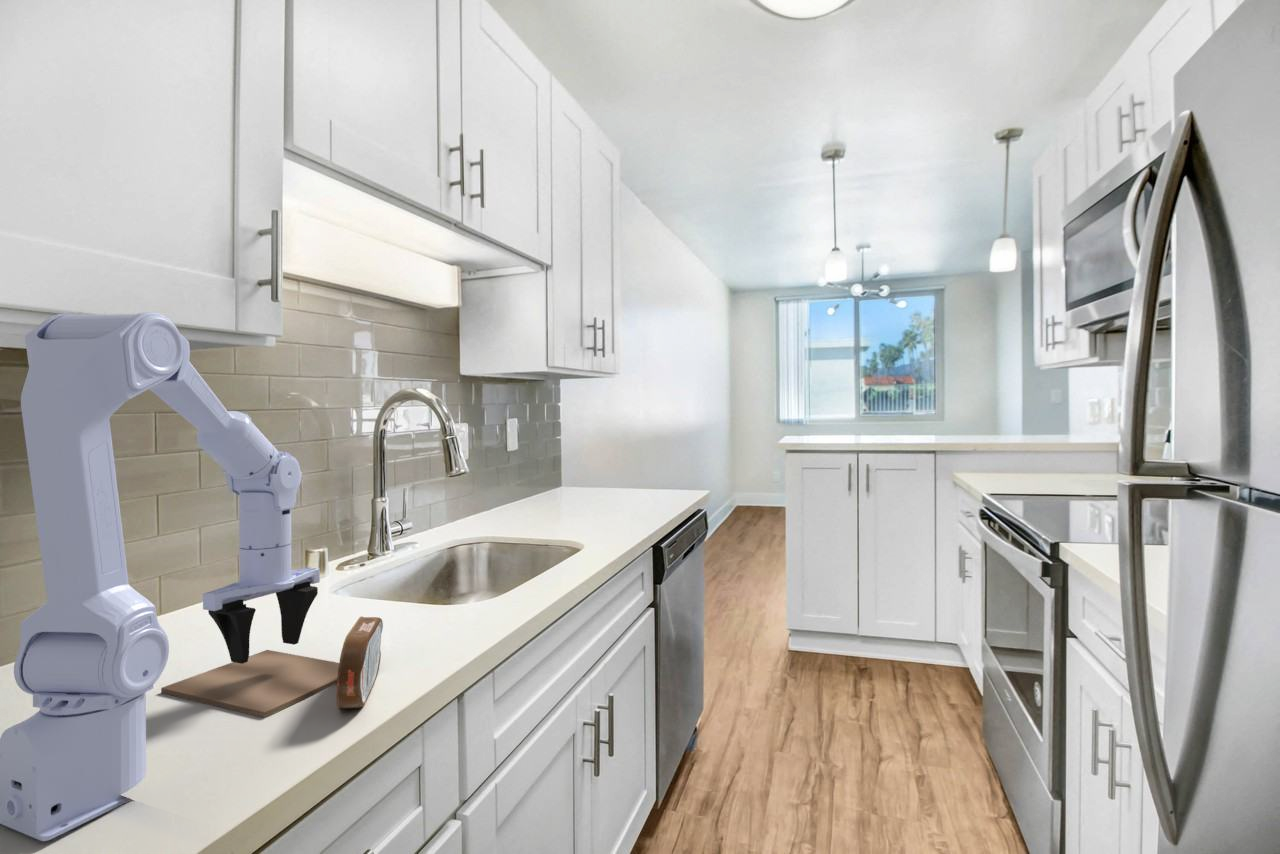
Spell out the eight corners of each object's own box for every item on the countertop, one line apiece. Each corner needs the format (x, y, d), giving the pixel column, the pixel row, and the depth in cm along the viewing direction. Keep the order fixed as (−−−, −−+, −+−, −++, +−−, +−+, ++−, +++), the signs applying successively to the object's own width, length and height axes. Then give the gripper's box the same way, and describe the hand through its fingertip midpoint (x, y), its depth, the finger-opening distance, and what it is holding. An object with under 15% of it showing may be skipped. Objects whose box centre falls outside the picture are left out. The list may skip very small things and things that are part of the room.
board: (265, 717, 70) (265, 712, 70) (161, 692, 76) (161, 687, 76) (363, 671, 83) (363, 667, 83) (267, 653, 89) (267, 649, 89)
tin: (360, 671, 83) (360, 608, 83) (385, 669, 84) (385, 606, 84) (333, 723, 68) (332, 646, 68) (364, 720, 69) (363, 644, 69)
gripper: (231, 558, 71) (232, 677, 71) (336, 537, 85) (336, 637, 85) (190, 554, 74) (191, 669, 74) (298, 534, 87) (298, 631, 87)
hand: (266, 652), depth 79 cm, fingers open, 6 cm apart
